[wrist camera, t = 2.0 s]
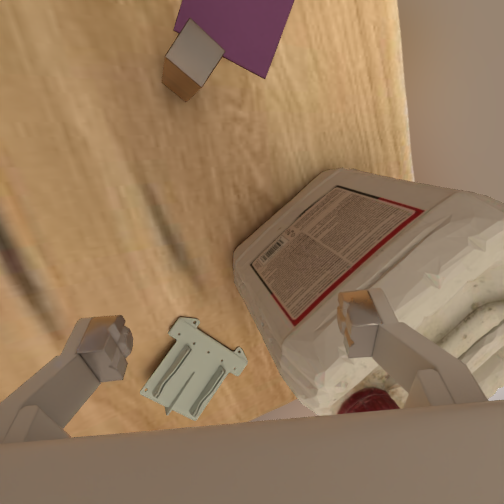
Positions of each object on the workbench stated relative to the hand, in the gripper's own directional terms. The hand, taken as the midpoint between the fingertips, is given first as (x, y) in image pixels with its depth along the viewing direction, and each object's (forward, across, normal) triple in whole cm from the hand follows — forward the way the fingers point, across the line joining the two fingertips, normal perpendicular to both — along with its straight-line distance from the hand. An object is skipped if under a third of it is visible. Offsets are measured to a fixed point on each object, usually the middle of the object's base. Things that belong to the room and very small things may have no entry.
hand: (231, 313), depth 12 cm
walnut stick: (+36, +6, -2) cm, 37 cm away
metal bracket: (+23, +13, +37) cm, 46 cm away
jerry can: (+33, -8, +23) cm, 41 cm away
